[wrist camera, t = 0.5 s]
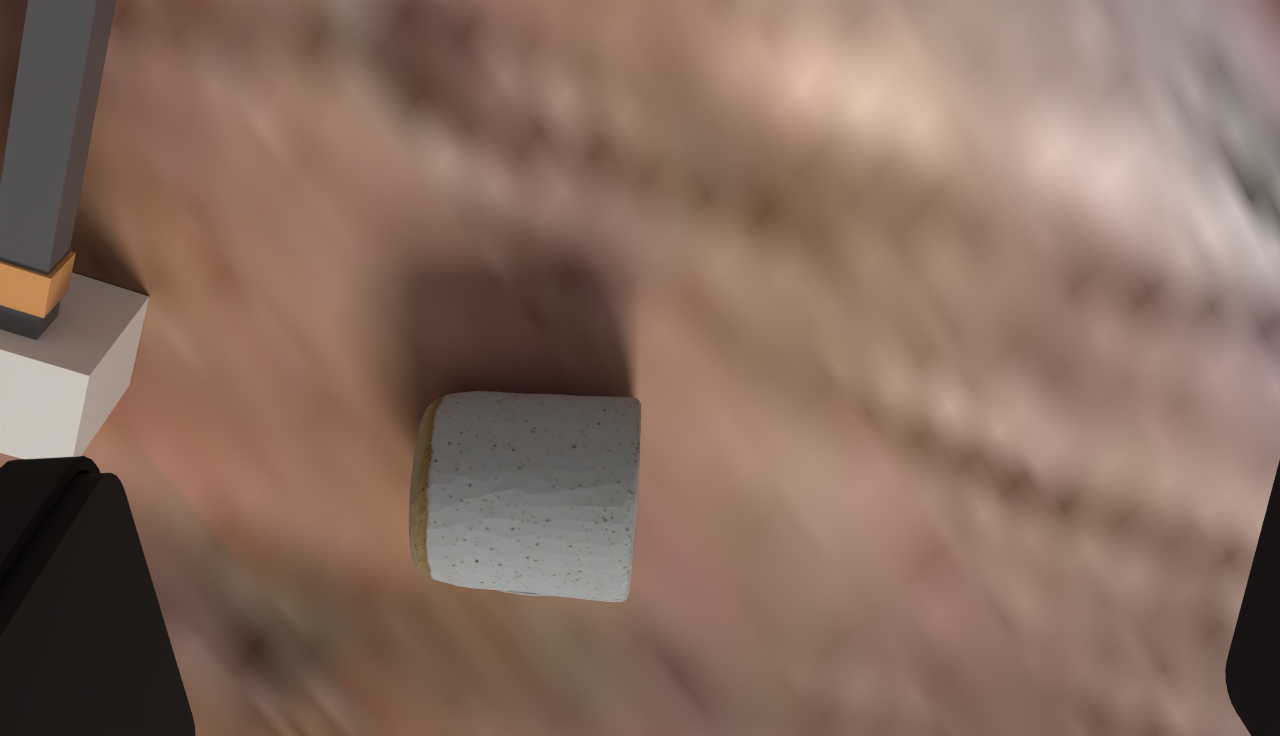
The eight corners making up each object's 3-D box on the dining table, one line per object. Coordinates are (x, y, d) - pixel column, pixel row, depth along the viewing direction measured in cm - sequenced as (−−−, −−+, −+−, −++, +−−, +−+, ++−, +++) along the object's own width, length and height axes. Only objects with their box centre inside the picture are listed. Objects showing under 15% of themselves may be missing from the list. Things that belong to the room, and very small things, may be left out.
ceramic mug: (427, 353, 46) (398, 468, 39) (641, 360, 46) (648, 475, 39) (435, 570, 51) (412, 704, 44) (627, 574, 51) (632, 707, 45)
